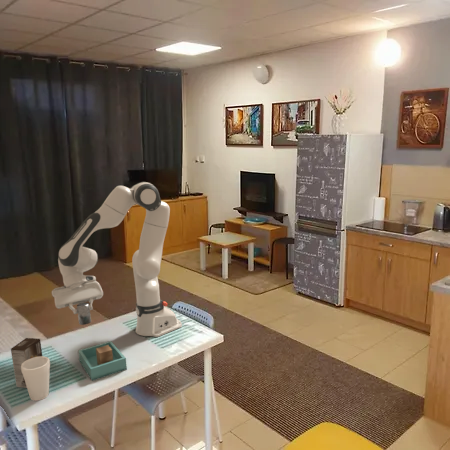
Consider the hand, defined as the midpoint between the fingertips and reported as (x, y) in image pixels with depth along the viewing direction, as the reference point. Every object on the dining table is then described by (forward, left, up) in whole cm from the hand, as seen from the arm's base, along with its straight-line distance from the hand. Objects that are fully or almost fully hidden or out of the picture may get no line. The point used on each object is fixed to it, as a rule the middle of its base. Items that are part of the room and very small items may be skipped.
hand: (83, 311), depth 180 cm
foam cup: (+24, +22, -19) cm, 38 cm away
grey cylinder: (0, 0, -5) cm, 5 cm away
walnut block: (-2, +19, -18) cm, 26 cm away
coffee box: (+25, +10, -19) cm, 33 cm away
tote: (-2, +15, -19) cm, 24 cm away
